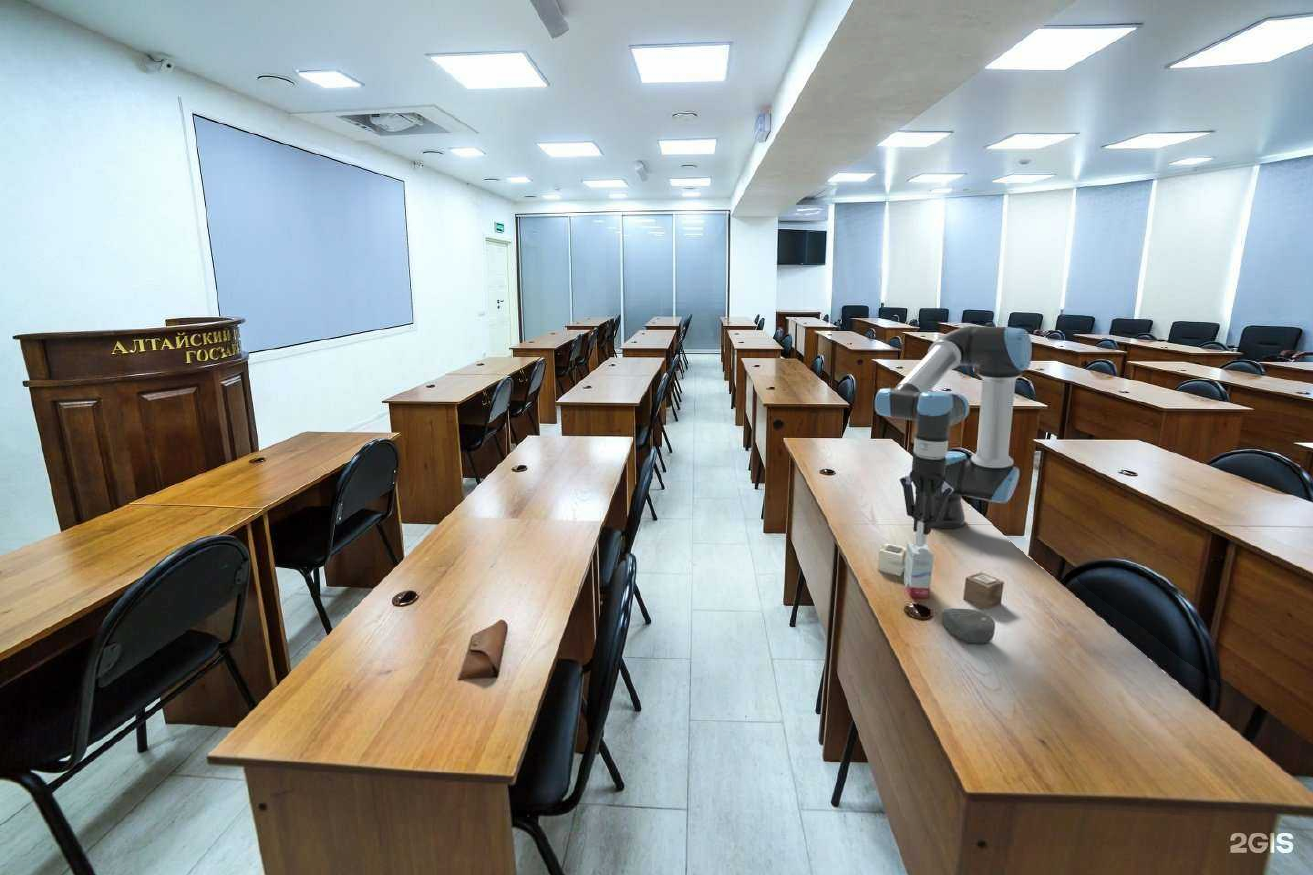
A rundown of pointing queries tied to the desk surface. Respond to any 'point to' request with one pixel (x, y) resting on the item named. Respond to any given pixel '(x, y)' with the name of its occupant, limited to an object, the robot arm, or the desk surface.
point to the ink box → (918, 570)
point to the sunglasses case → (485, 653)
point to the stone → (969, 625)
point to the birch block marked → (892, 559)
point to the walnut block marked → (983, 590)
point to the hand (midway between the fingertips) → (920, 544)
